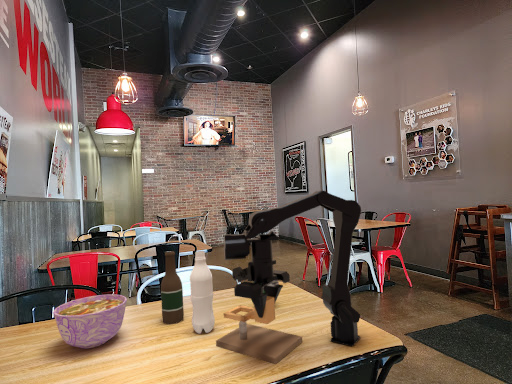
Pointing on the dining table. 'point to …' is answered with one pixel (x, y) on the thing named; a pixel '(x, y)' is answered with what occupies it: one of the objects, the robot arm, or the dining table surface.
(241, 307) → the square frame with handle
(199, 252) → the water bottle
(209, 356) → the dining table surface
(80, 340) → the bowl of food
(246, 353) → the board
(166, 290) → the beer bottle
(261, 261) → the robot arm
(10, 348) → the dining table surface
